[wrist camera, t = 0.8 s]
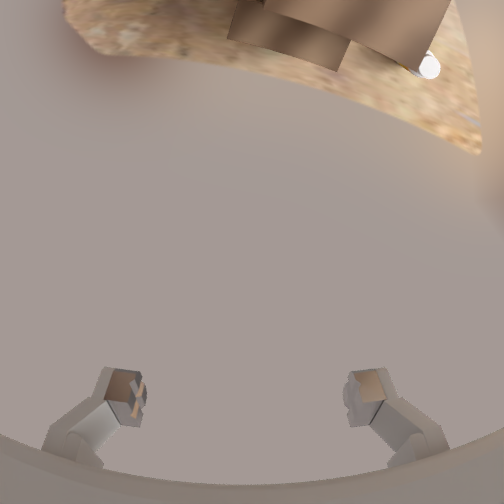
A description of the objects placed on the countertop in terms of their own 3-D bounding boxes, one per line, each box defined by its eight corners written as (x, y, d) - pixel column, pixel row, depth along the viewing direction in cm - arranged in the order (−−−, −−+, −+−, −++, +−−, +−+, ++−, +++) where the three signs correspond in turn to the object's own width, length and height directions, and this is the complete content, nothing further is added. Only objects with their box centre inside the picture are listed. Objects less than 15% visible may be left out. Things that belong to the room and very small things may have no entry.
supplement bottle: (394, 68, 44) (416, 84, 37) (389, 40, 40) (412, 52, 34) (420, 65, 43) (445, 82, 36) (416, 38, 39) (442, 51, 32)
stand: (236, 26, 41) (211, 60, 22) (263, -53, 30) (264, -99, 11) (332, 55, 44) (391, 120, 25) (364, -18, 33) (456, -12, 14)
